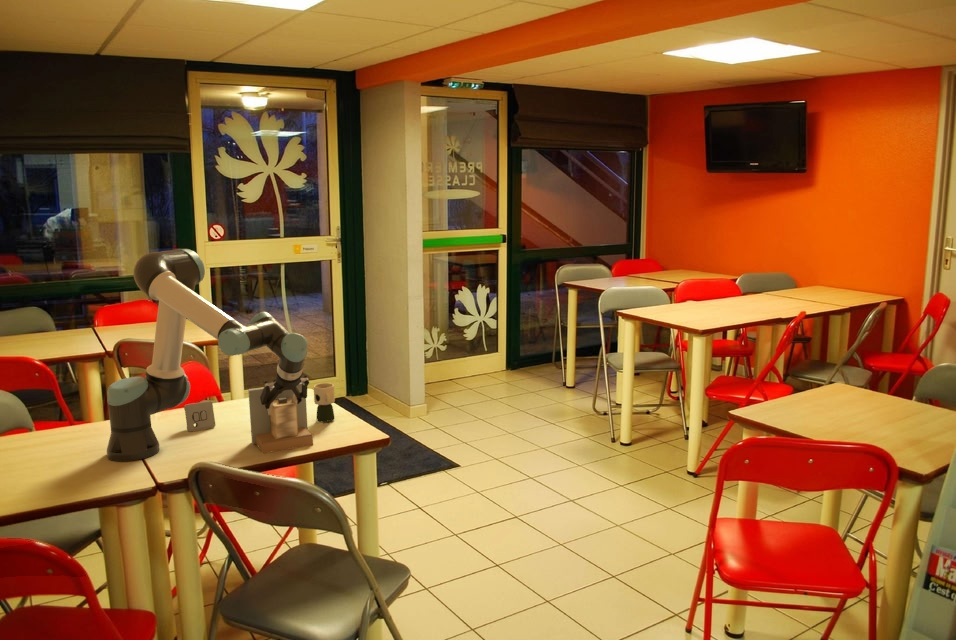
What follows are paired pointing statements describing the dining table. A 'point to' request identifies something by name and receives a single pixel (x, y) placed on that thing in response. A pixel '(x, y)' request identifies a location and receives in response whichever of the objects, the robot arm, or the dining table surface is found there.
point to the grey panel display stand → (263, 423)
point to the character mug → (324, 401)
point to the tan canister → (284, 418)
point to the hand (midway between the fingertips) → (281, 409)
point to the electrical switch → (199, 416)
